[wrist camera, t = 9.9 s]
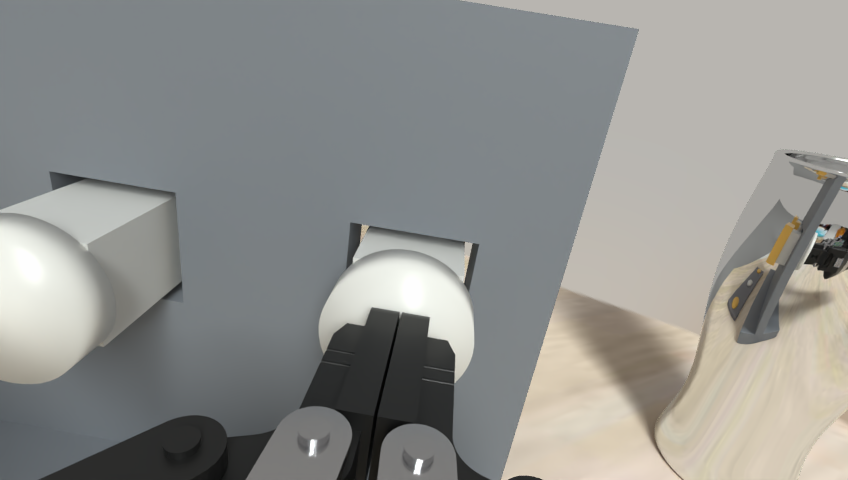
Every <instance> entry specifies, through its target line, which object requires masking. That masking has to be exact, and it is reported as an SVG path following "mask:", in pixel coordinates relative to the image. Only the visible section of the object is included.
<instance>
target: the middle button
mask: <svg viewBox="0 0 848 480" xmlns="http://www.w3.org/2000/svg"><path fill="white" fill-rule="evenodd" d="M181 281H182V275H181V261H180V248H179V234H178V221H177V207H176V194H175V193H174V192H168V191H162V190H156V189H150V188H144V187H139V186H133V185H127V184H121V183H115V182H109V181H103V180H97V179H91V178H87V179H84V180H81V181H78V182H76V183H73V184H70V185H67V186H65V187H62V188H59V189H56V190H54V191H51V192H48V193H45V194H43V195H40V196H37V197H34V198H32V199H29V200H26V201H23V202H21V203H18V204H15V205H12V206H10V207H7V208H4V209H1V210H0V380H2V381H6V382H10V383H17V384H39V383H44V382H48V381H51V380H54V379H56V378H58V377H60V376H61V375H63V374H64V373H66V372H67V371H68V370H69V369H70V368H72V367H73V366H74V365H75V364H76V363H78V362H79V361H80V360H81V359H82V358H84V357H85V356H86V355H87V354H88V353H90V352H91V351H92V350H93V349H94V348H96V347H97V346H102V347H104V346H106V345H107V344H108V343H109V342H110V341H111V340H113V339H114V338H115V337H116V336H117V335H119V334H120V333H121V332H122V331H123V330H124V329H126V328H127V327H128V326H129V325H130V324H132V323H133V322H134V321H135V320H136V319H137V318H139V317H140V316H141V315H142V314H143V313H145V312H146V311H147V310H148V309H149V308H150V307H152V306H153V305H154V304H155V303H156V302H158V301H159V300H160V299H161V298H162V297H163V296H165V295H166V294H167V293H168V292H169V291H171V290H172V289H173V288H174V287H175V286H176V285H178V284H179V283H180V282H181Z"/></svg>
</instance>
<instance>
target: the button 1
mask: <svg viewBox="0 0 848 480" xmlns="http://www.w3.org/2000/svg"><path fill="white" fill-rule="evenodd" d="M464 244H465V242H464V241H458V240H452V239H446V238H440V237H434V236H428V235H422V234H416V233H410V232H405V231H399V230H393V229H387V228H381V227H375V226H369V228H368V230H367V232H366V234H365V236H364V238H363V240H362V242H361V243H360V245H359V247H358V249H357V251H356V253H355V255H354V257H353V264H352V265H350V266H349V267H348V268H347V269H346V270H345V271H344V272H343V274H342V275H341V276H340V278H339V279H338V281H337V283H336V285H335V287H334V289H333V290H332V292H331V294H330V296H329V298H328V300H327V302H326V304H325V306H324V308H323V310H322V313H321V316H320V320H319V340H320V345H321V348H322V351H323V353H325V351H326V350H327V347H328V344H329V342H330V340H331V338H332V336H333V334H334V333H335V332H336V331H338V330H339V329H340V328H341V327H343V326H344V325H345V324H347V323H350V324H355V325H361V326H365V324H366V321H367V318H368V315H369V313H370V310H371V308H372V307H374V308H380V309H386V310H392V311H397V312H400V316H399V323H400V319H401V315H402V312H404V313H409V314H415V315H421V316H427V317H430V322H429V329H428V337H430V338H436V339H442V340H447V341H448V342H449V344H450V346H451V348H452V350H453V352H454V353H455V381H454V383H455V382H456V381H457V380H458V379H459V378H460V377H461V376H462V375H463V373H464V372H465V370H466V369H467V367H468V365H469V363H470V361H471V358H472V355H473V350H474V313H473V305H472V300H471V297H470V294H469V292H468V290H467V288H466V286H465V285H464V283H463V281H464ZM399 323H398V327H399ZM397 331H398V330H397Z"/></svg>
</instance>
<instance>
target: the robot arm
mask: <svg viewBox="0 0 848 480" xmlns="http://www.w3.org/2000/svg"><path fill="white" fill-rule="evenodd" d="M399 316H400V312H397V311H392V310H386V309H380V308H374V307H372V308H371V310H370V313H369V315H368V318H367V321H366V324H365V326H361V325H355V324H350V323H347V324H345V325H344V326H343V327H341V328H340V329H339V330H338V331H336V332H335V333H334V334H333V336H332V338H331V340H330V342H329V344H328V347H327V350H326V351H325V353H324V355H323V358H322V360H321V363H320V364H319V366H318V369H317V371H316V373H315V375H314V377H313V380H312V382H311V384H310V386H309V388H308V390H307V393H306V395H305V397H304V399H303V401H302V404H301V406H300V408H299V410H296V411H294V412H292V413H290V414H289V415H287V416H286V417H285V418H284V419H283V420H282V421H281V422H280V424H279V425H278V426H277V428H276V429H274V430H272V431H269V432H266V433H262V434H255V435H245V436H235V437H227V434H226V431H225V429H224V427H223V426H222V425H221V424H220V423H219V422H218V421H216V420H215V419H212V418H210V417H206V416H200V415H189V416H182V417H178V418H175V419H172V420H169V421H167V422H164V423H162V424H160V425H158V426H156V427H153V428H151V429H149V430H147V431H145V432H142V433H140V434H138V435H136V436H133V437H131V438H129V439H127V440H125V441H122V442H120V443H118V444H116V445H114V446H111V447H109V448H107V449H105V450H103V451H100V452H98V453H96V454H94V455H92V456H89V457H87V458H85V459H83V460H81V461H78V462H76V463H74V464H72V465H70V466H67V467H65V468H63V469H61V470H59V471H56V472H54V473H52V474H50V475H47V476H45V477H43V478H41V479H39V480H367V477H368V472H369V478H368V480H490V479H488V478H486V477H484V476H482V475H480V474H479V473H477V472H475V471H474V470H473V469H471V468H470V467H469V466H468V465H467V464H466V463H465V462H464V461H463V460H462V459H461V458H460V456H459V454H458V453H457V451H456V449H455V446H454V443H453V409H454V381H455V353H454V352H453V350H452V348H451V346H450V344H449V342H448V341H447V340H442V339H436V338H430V337H428V329H429V322H430V317H427V316H421V315H415V314H409V313H404V312H402V315H401V319H400V323H399ZM398 323H399V327H398ZM397 330H398V331H397ZM369 468H370V471H369ZM508 480H542V479H540V478H536V477H532V476H517V477H513V478H511V479H508Z"/></svg>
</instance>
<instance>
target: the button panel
mask: <svg viewBox="0 0 848 480" xmlns="http://www.w3.org/2000/svg"><path fill="white" fill-rule="evenodd" d="M638 31H639V29H634V28H628V27H621V26H616V25H609V24H603V23H596V22H591V21H585V20H578V19H571V18H566V17H559V16H553V15H547V14H540V13H534V12H528V11H522V10H516V9H510V8H504V7H497V6H491V5H485V4H478V3H472V2H466V1H460V0H0V210H1V209H4V208H7V207H10V206H12V205H15V204H18V203H21V202H23V201H26V200H29V199H32V198H34V197H37V196H40V195H43V194H45V193H48V192H51V191H54V190H56V189H59V188H62V187H65V186H67V185H70V184H73V183H76V182H78V181H81V180H84V179H87V178H91V179H97V180H103V181H109V182H115V183H121V184H127V185H133V186H139V187H144V188H150V189H156V190H162V191H168V192H174V193H175V194H176V207H177V221H178V234H179V248H180V261H181V275H182V281H181V282H180V283H179V284H178V285H176V286H175V287H174V288H173V289H172V290H171V291H169V292H168V293H167V294H166V295H165V296H163V297H162V298H161V299H160V300H159V301H158V302H156V303H155V304H154V305H153V306H152V307H150V308H149V309H148V310H147V311H146V312H145V313H143V314H142V315H141V316H140V317H139V318H137V319H136V320H135V321H134V322H133V323H132V324H130V325H129V326H128V327H127V328H126V329H124V330H123V331H122V332H121V333H120V334H119V335H117V336H116V337H115V338H114V339H113V340H111V341H110V342H109V343H108V344H107V345H106V346H104V347H102V346H97V347H96V348H94V349H93V350H92V351H91V352H90V353H88V354H87V355H86V356H85V357H84V358H82V359H81V360H80V361H79V362H78V363H76V364H75V365H74V366H73V367H72V368H70V369H69V370H68V371H67V372H66V373H64V374H63V375H61V376H60V377H58V378H56V379H54V380H51V381H48V382H44V383H39V384H17V383H10V382H6V381H2V380H0V480H39V479H41V478H43V477H45V476H47V475H50V474H52V473H54V472H56V471H59V470H61V469H63V468H65V467H67V466H70V465H72V464H74V463H76V462H78V461H81V460H83V459H85V458H87V457H89V456H92V455H94V454H96V453H98V452H100V451H103V450H105V449H107V448H109V447H111V446H114V445H116V444H118V443H120V442H122V441H125V440H127V439H129V438H131V437H133V436H136V435H138V434H140V433H142V432H145V431H147V430H149V429H151V428H153V427H156V426H158V425H160V424H162V423H164V422H167V421H169V420H172V419H175V418H178V417H182V416H189V415H200V416H206V417H210V418H212V419H215V420H216V421H218V422H219V423H220V424H221V425H222V426H223V427H224V429H225V431H226V434H227V437H235V436H245V435H255V434H262V433H266V432H269V431H272V430H274V429H276V428H277V426H278V425H279V424H280V422H281V421H282V420H283V419H284V418H285V417H286V416H287V415H289V414H290V413H292V412H294V411H296V410H299V408H300V406H301V404H302V401H303V399H304V397H305V395H306V393H307V390H308V388H309V386H310V384H311V382H312V380H313V377H314V375H315V373H316V371H317V369H318V366H319V364H320V363H321V360H322V358H323V355H324V353H323V351H322V348H321V345H320V340H319V320H320V316H321V313H322V310H323V308H324V306H325V304H326V302H327V300H328V298H329V296H330V294H331V292H332V290H333V289H334V287H335V285H336V283H337V281H338V279H339V278H340V276H341V275H342V274H343V272H344V271H345V270H346V269H347V268H348V267H349V266H350V265H352V264H353V257H354V255H355V253H356V251H357V249H358V247H359V245H360V236H361V226H362V224H363V225H369V226H375V227H381V228H387V229H393V230H399V231H405V232H410V233H416V234H422V235H428V236H434V237H440V238H446V239H452V240H458V241H464V242H470V243H473V245H472V249H471V254H470V259H469V263H468V268H467V273H466V278H465V283H464V285H465V286H466V288H467V290H468V292H469V294H470V297H471V300H472V305H473V313H474V350H473V355H472V358H471V361H470V363H469V365H468V367H467V369H466V370H465V372H464V373H463V375H462V376H461V377H460V378H459V379H458V380H457V381H456V382H455V383H454V409H453V443H454V446H455V449H456V451H457V453H458V454H459V456H460V458H461V459H462V460H463V461H464V462H465V463H466V464H467V465H468V466H469V467H470V468H471V469H473V470H474V471H475V472H477V473H479V474H480V475H482V476H484V477H486V478H488V479H490V480H501V477H502V474H503V471H504V467H505V464H506V461H507V458H508V454H509V451H510V448H511V445H512V441H513V438H514V435H515V432H516V428H517V425H518V422H519V419H520V415H521V412H522V409H523V406H524V402H525V399H526V396H527V393H528V389H529V386H530V383H531V380H532V376H533V373H534V370H535V367H536V363H537V360H538V357H539V353H540V350H541V347H542V344H543V340H544V337H545V334H546V331H547V327H548V324H549V321H550V318H551V314H552V311H553V308H554V305H555V301H556V298H557V295H558V292H559V288H560V285H561V282H562V279H563V275H564V272H565V269H566V266H567V262H568V259H569V255H570V252H571V249H572V246H573V243H574V239H575V236H576V233H577V230H578V226H579V223H580V220H581V217H582V213H583V210H584V207H585V204H586V200H587V197H588V194H589V190H590V187H591V184H592V181H593V177H594V174H595V171H596V168H597V165H598V161H599V158H600V155H601V152H602V148H603V145H604V142H605V138H606V135H607V132H608V128H609V125H610V122H611V119H612V116H613V112H614V109H615V106H616V102H617V99H618V96H619V93H620V90H621V86H622V83H623V79H624V77H625V73H626V70H627V67H628V64H629V60H630V57H631V54H632V51H633V47H634V44H635V41H636V37H637V34H638ZM369 471H370V468H369ZM368 478H369V472H368V477H367V480H368Z"/></svg>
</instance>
